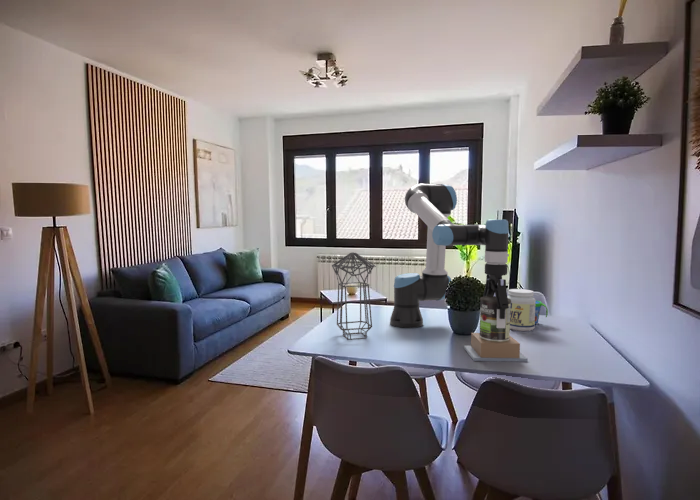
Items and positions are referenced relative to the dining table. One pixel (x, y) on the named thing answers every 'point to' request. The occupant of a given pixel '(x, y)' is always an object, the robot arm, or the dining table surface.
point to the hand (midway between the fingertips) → (494, 322)
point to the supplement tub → (522, 309)
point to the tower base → (494, 350)
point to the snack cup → (537, 310)
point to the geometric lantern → (353, 286)
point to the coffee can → (493, 320)
